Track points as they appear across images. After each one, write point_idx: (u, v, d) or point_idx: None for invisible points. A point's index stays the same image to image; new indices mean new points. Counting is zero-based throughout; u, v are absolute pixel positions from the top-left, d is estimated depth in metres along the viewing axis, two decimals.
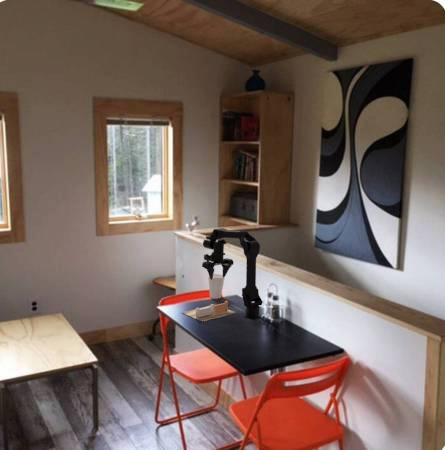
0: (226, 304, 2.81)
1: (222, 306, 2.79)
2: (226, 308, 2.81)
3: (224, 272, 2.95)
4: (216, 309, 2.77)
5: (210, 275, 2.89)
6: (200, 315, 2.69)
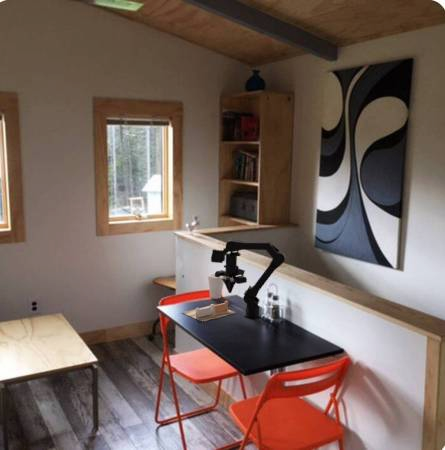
0: (226, 304, 2.81)
1: (222, 306, 2.79)
2: (226, 308, 2.81)
3: None
4: (216, 309, 2.77)
5: None
6: (200, 315, 2.69)
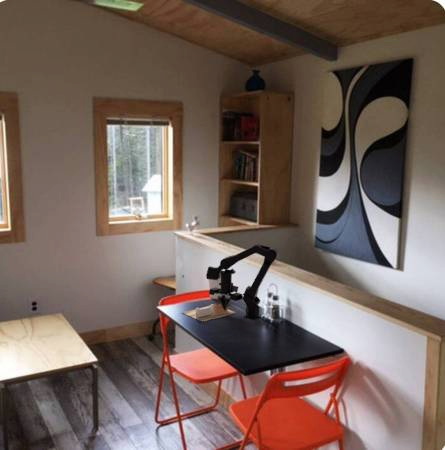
0: None
1: (222, 306, 2.79)
2: None
3: None
4: (216, 309, 2.77)
5: None
6: (200, 315, 2.69)
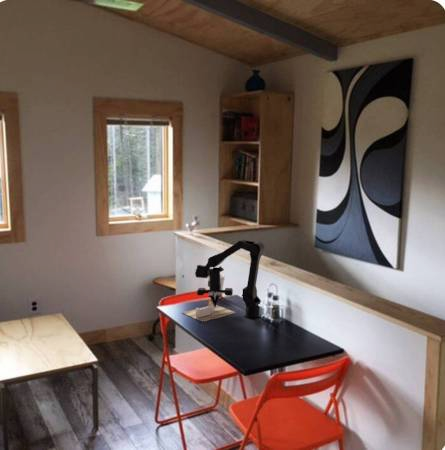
0: (211, 301, 2.85)
1: None
2: None
3: None
4: None
5: None
6: (200, 315, 2.69)
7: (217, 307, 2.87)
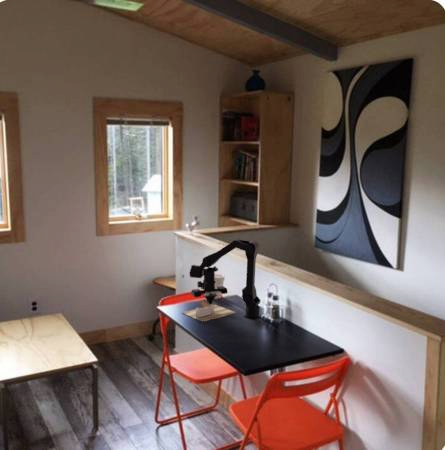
0: None
1: None
2: None
3: None
4: None
5: (208, 302, 2.82)
6: (200, 315, 2.69)
7: (217, 307, 2.87)
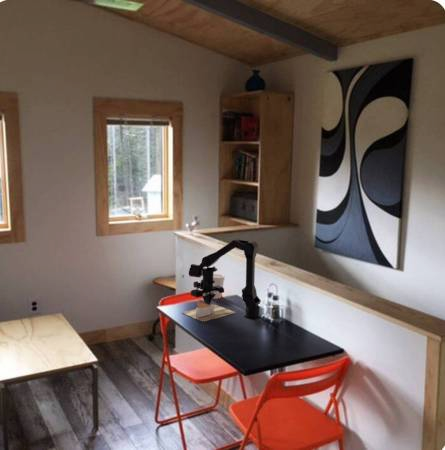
0: None
1: None
2: None
3: None
4: None
5: (206, 302, 2.82)
6: (200, 315, 2.69)
7: (217, 307, 2.87)
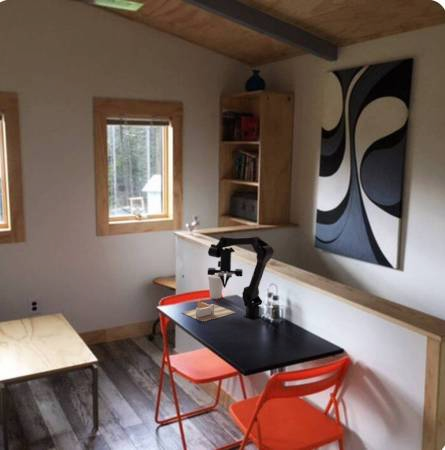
0: None
1: None
2: None
3: (225, 282, 2.84)
4: None
5: (222, 282, 2.84)
6: (200, 315, 2.69)
7: (217, 307, 2.87)
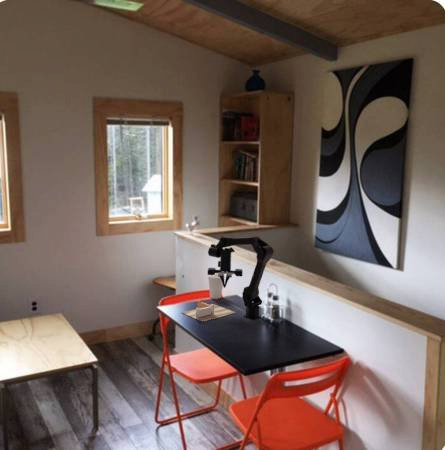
0: None
1: None
2: None
3: (225, 282, 2.84)
4: None
5: (222, 282, 2.84)
6: (200, 315, 2.69)
7: (217, 307, 2.87)
